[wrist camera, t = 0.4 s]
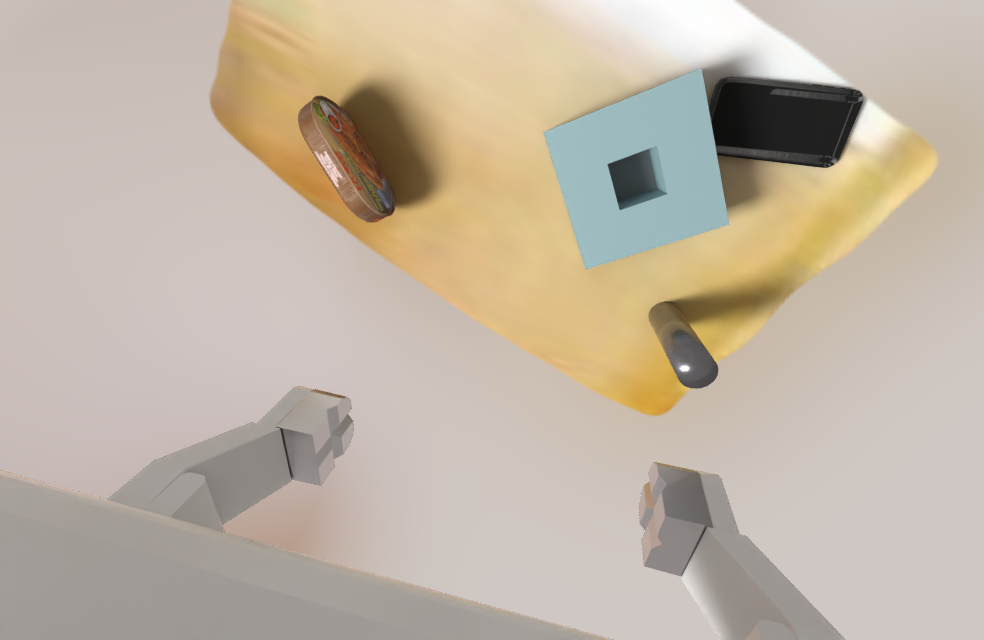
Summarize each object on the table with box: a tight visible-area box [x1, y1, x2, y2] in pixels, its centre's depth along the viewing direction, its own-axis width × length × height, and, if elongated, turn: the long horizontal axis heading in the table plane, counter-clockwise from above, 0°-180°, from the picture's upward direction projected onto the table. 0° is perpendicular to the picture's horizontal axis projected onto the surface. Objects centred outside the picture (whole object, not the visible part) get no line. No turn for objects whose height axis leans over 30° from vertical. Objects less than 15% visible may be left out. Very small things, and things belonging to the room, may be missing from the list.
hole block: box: [544, 68, 729, 269], centre depth 49 cm, size 16×16×6 cm
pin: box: [649, 302, 718, 388], centre depth 51 cm, size 4×4×15 cm
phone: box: [709, 77, 863, 168], centre depth 47 cm, size 8×1×15 cm
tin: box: [298, 96, 395, 222], centre depth 51 cm, size 15×3×8 cm, turn 28°
